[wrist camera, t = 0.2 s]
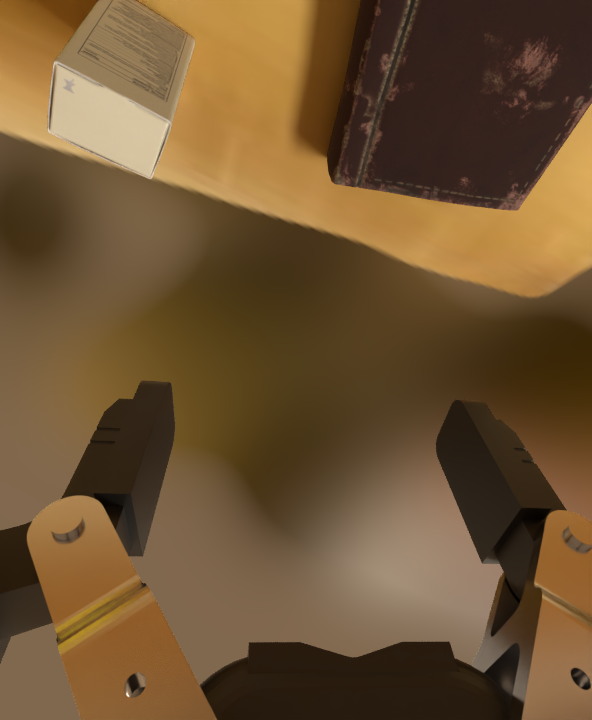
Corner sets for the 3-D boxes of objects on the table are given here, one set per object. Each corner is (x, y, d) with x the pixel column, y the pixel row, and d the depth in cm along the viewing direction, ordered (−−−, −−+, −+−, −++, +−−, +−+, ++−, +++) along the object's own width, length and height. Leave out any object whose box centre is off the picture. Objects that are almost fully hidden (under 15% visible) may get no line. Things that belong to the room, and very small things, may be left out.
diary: (324, 154, 38) (325, 185, 35) (443, -414, 17) (469, -450, 15) (512, 183, 40) (527, 216, 37) (815, -294, 20) (901, -305, 17)
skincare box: (97, 47, 30) (38, 131, 24) (109, -20, 27) (45, 54, 20) (182, 96, 33) (151, 184, 26) (201, 41, 30) (172, 124, 23)
